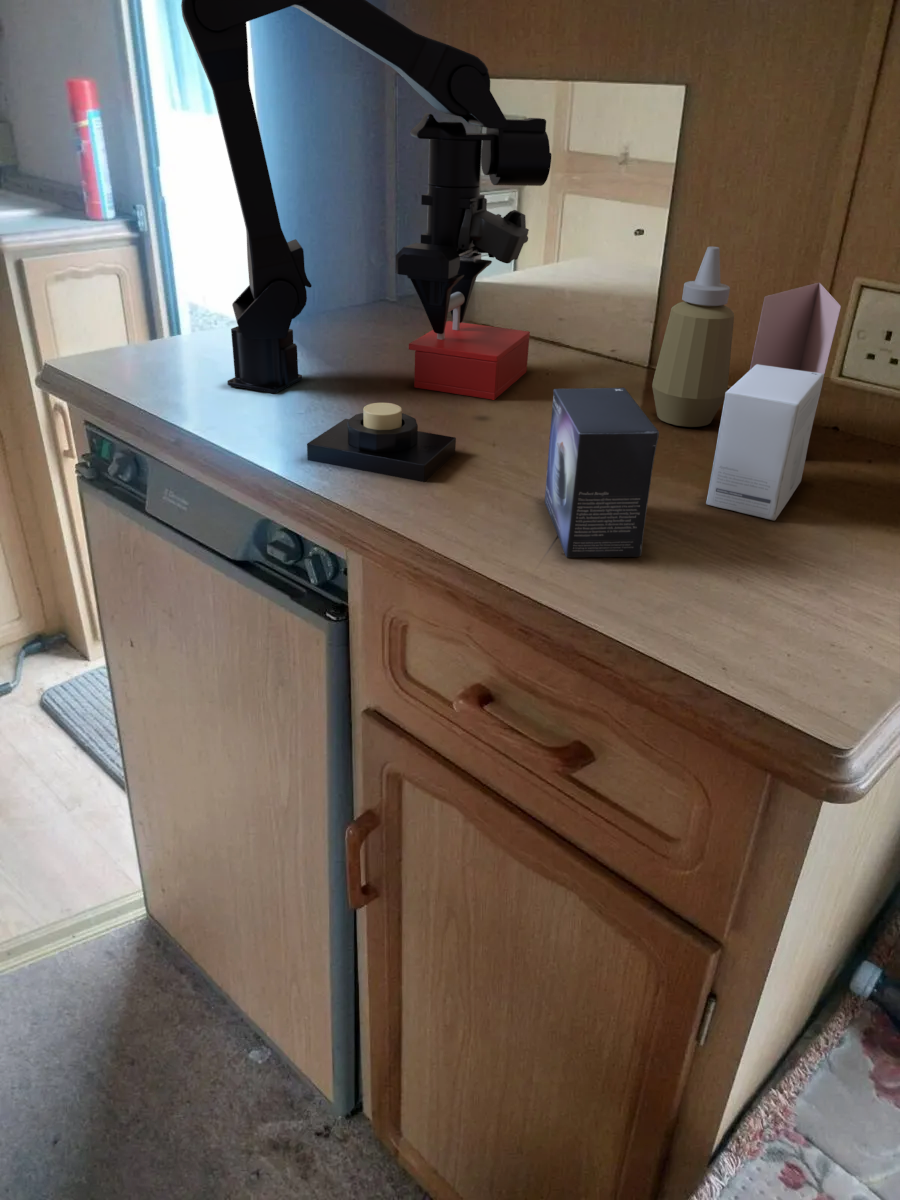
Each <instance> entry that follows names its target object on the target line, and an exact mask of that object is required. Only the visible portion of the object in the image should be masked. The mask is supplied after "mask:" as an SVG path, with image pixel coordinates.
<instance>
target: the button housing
mask: <svg viewBox="0 0 900 1200" xmlns="http://www.w3.org/2000/svg"><path fill="white" fill-rule="evenodd" d="M456 446H457V438H456V437H455V436H450V435H443V434H437V433H432V432H426V431H420V430H419V424H418V422H417V420H416V418H415V417H413V416H411V415H408V414H407V413H403V412H402V427H401V428H396V429H392V430H376V429H370V428H367V427H365V426H364V418H363V412H361V413H357V414H355V415H353V416H351V417H349V418H344V419H342V420H341V421H340V422H338V423H337V424H335V425H334V426H332V427H330V428H329V429H327V430H325V431H324V432H323V433H321V434H320V435H318V436H316V437H314V438H313V439H312V440H310V441H309V442H307V443H306V452H307V453H306V456H307V461H309V462H315V463H320V464H325V465H332V466H337V467H340V468H341V467H342V468H347V469H353V470H358V471H362V472H363V471H364V472H367V473H374V474H379V475H385V476H389V477H395V478H401V479H404V480H410V481H416V482H421V483H425V482H426V481H427V480H428V479H429V478H431V476H433V475H434V474H435V473H436V472H437V471H438V470H439V469H441V467H442V466H443V465H444V464H446V463H447V462H448V461H449V460H451V458H452V457H453V456H454V455H456Z"/></svg>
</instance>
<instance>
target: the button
mask: <svg viewBox="0 0 900 1200" xmlns="http://www.w3.org/2000/svg"><path fill="white" fill-rule="evenodd" d="M362 411H363V412H362V413H363V418H364V426H365V427H367V428H370V429H376V430H392V429H396V428H401V427H402V413H403V408H402V407H401V406H400V405H398V404H395V403H391V402H373V403H368V404H367V405H365V406H364V407H363V409H362Z"/></svg>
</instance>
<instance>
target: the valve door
mask: <svg viewBox="0 0 900 1200" xmlns="http://www.w3.org/2000/svg"><path fill="white" fill-rule="evenodd" d="M464 300H465V298H464V295H463V294H462V293H461V292H455V293H453V294H451V296H450V302H449V308H448V313H451V310H453V318H452V321H451V320H447V321H446V326H445V330H444V333H443V334H437V333H435V332H434V330H433V329H431V330H430V331H428V332H427V333H424V334H423V335H421V336H419V337H418V338H416V339H415V340H413V341H411V342H409V343H408V350H409V351H414V352H415V351H422V352H429V353H436V354H443V355H450V356H457V357H464V358H471V359H478V360H485V361H492V362H498V361H499V360H500V359H501V358H503V357H504V356H505V355H507V354H508V353H509V352H511V351H512V350H513V349H514V348H516V347H517V346H518V345H520V344H521V343H522V342H524V341H525V340H526V339H527V338H529V339H530V336H531V335H530V334H531V331H528V330H520V329H513V328H507V327H499V326H498V327H497V326H491V325H484V324H483V325H482V324H475V323H467V322H461V323H460V305H462V304H463V303H464Z"/></svg>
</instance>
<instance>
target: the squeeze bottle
mask: <svg viewBox="0 0 900 1200" xmlns="http://www.w3.org/2000/svg"><path fill="white" fill-rule="evenodd" d="M720 253H721V252H720V247H719V246H707V248H706V250H705V253H704V255H703V258H702V261H701V263H700V267H699V269H698V271H697V274H696V276H695V280H690V281H686V282H684V284H683V288H682V296H681V297H682V298H681V300H682V301H680V302H678V303H676V304H675V305H673V306H672V307H671V309H670V313H669V316H668V320H667V324H666V328H665V332H664V335H663V340H662V344H661V348H660V352H659V356H658V359H657V364H656V367H655V371H654V375H653V380H652V384H651V387H652V393H653V399H654V405H655V411H656V416H657V418H658V419H659V420H660V421H662V422H664V423H667V424H670V425H673V426H677V427H684V428H685V427H687V428H701V427H704V426H708V425H709V424H711V423H712V421H713V420H714V418H715V416H716V414H717V412H718V411H719V409H720V407H721V405H722V404H723V403H724V399H725V393H726V392H727V391H728V390H729V389H728V388H729V379H730V378H729V377H730V366H731V356H732V344H733V343H732V342H733V335H734V332H733V331H734V323H735V313H734V311H733V310H732V309H731V308H730V307H728V306H726V305H727V304H728V302H729V296H730V291H731V287H730V286H729V285H728V284H725V283H721V254H720Z"/></svg>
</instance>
